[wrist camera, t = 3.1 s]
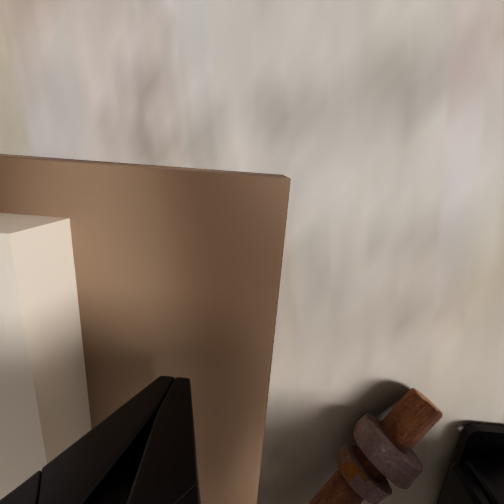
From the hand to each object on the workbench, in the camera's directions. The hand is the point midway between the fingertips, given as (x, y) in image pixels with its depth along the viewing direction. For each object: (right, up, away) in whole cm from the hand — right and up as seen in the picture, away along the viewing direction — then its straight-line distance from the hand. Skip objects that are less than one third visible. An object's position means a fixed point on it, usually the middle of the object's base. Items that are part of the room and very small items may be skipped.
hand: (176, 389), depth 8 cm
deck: (-5, +2, +5) cm, 7 cm away
